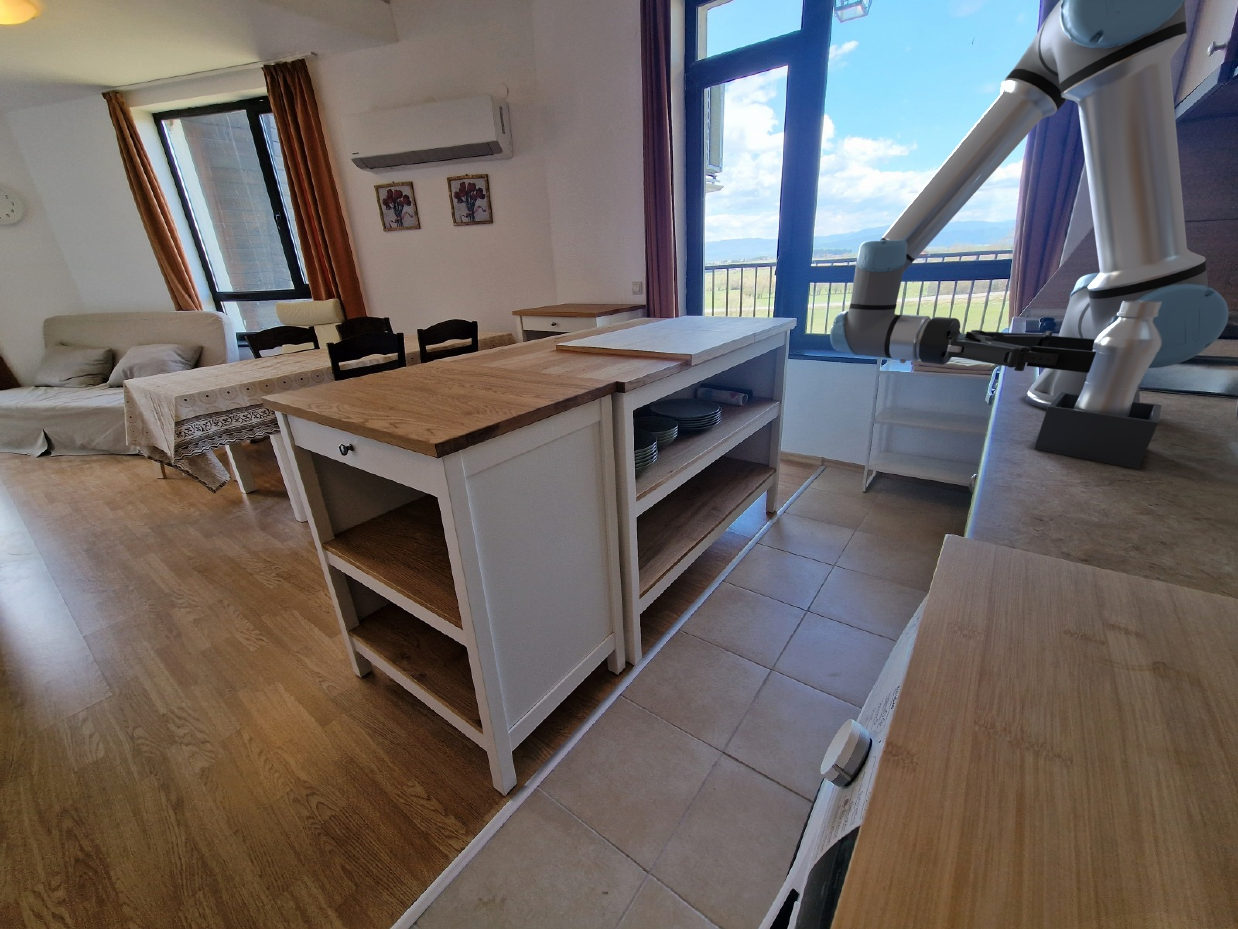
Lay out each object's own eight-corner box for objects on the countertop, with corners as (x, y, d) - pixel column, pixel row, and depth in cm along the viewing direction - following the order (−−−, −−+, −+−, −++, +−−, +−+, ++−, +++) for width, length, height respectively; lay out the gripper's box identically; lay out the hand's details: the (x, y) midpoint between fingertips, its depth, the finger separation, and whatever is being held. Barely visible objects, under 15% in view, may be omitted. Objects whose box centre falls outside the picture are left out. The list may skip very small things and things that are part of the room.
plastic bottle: (1046, 438, 74) (1093, 300, 66) (1090, 437, 74) (1142, 298, 66) (1084, 453, 68) (1140, 304, 60) (1132, 452, 68) (1195, 302, 60)
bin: (1047, 431, 78) (1060, 391, 75) (1143, 447, 70) (1161, 404, 68) (1033, 449, 71) (1047, 406, 69) (1138, 469, 64) (1158, 422, 61)
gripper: (944, 352, 90) (1101, 369, 75) (893, 372, 76) (1074, 398, 61) (954, 310, 87) (1119, 319, 72) (903, 323, 73) (1096, 338, 58)
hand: (1099, 355), depth 67 cm, fingers open, 12 cm apart
